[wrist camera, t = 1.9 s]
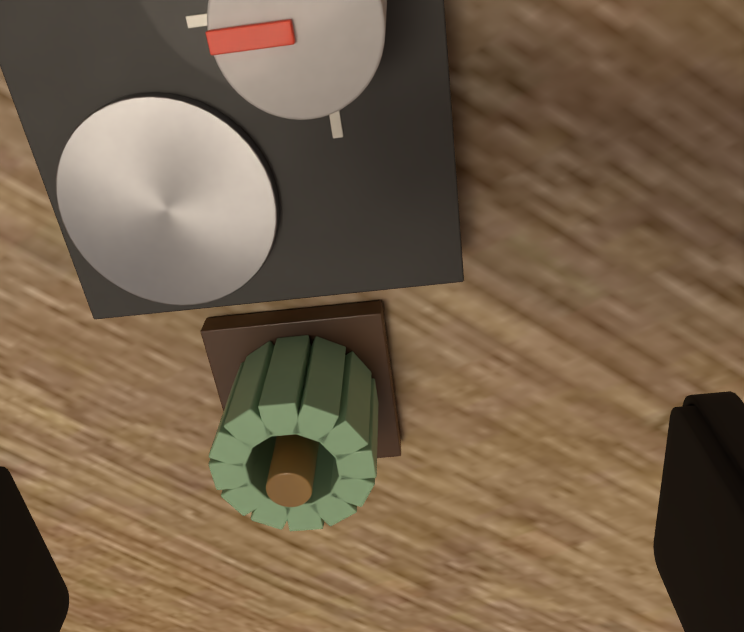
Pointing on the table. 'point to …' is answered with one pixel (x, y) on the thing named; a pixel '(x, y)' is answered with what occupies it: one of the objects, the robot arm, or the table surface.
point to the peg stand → (334, 323)
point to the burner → (167, 198)
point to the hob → (262, 141)
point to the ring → (299, 430)
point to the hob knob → (297, 51)
